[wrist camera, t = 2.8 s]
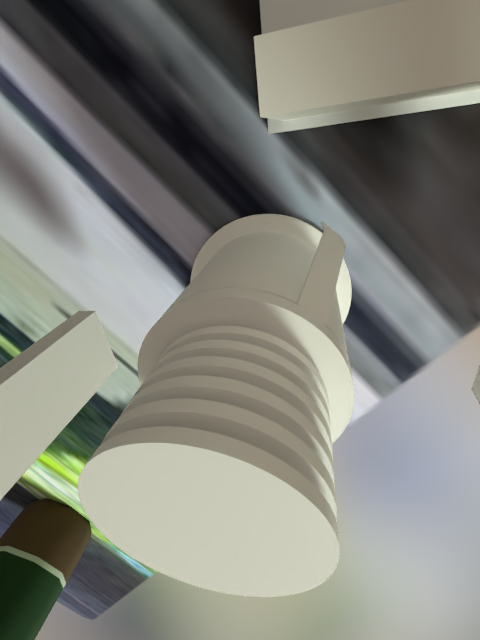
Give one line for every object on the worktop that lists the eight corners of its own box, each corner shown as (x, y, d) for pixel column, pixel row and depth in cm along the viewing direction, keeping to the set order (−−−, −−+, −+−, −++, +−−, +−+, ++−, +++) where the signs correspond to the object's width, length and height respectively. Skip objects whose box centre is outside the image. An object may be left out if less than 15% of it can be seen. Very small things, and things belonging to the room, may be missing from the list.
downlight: (274, 384, 16) (237, 644, 8) (164, 308, 15) (-17, 513, 7) (397, 274, 12) (593, 568, 4) (257, 161, 11) (98, 217, 3)
